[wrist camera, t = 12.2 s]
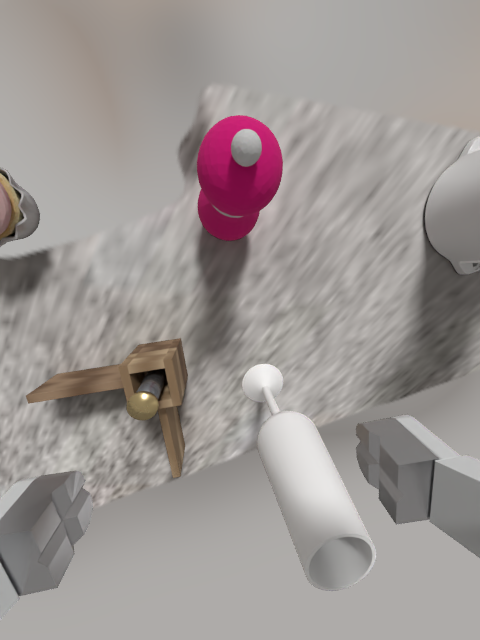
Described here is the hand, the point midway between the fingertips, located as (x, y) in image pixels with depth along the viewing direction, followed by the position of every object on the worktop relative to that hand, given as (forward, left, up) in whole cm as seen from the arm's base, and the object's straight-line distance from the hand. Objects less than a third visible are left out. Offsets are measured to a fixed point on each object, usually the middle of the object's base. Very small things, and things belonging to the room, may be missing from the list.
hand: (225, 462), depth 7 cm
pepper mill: (-3, -12, -29) cm, 31 cm away
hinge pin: (+9, +7, -25) cm, 27 cm away
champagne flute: (-6, +13, -29) cm, 32 cm away
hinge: (+15, +13, -29) cm, 35 cm away
